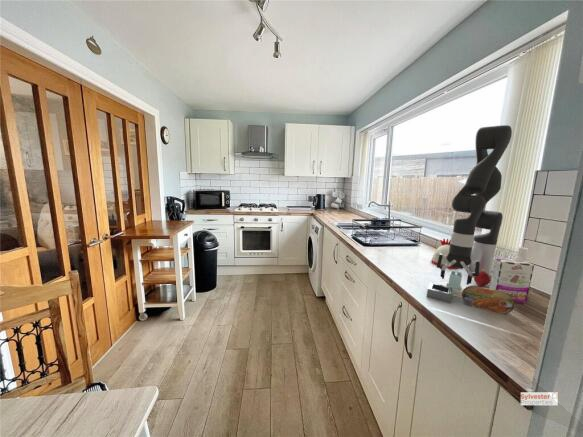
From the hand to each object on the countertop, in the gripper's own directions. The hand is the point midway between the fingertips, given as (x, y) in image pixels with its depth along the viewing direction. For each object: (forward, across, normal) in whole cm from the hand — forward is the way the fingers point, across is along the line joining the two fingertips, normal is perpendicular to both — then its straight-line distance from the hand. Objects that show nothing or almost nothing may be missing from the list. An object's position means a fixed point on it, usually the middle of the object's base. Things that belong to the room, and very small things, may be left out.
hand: (454, 281), depth 99 cm
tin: (+6, -10, +7) cm, 14 cm away
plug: (+5, 0, 0) cm, 5 cm away
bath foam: (+6, -22, -21) cm, 31 cm away
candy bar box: (+6, -18, -9) cm, 21 cm away
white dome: (+6, +5, -41) cm, 42 cm away
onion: (+6, -10, -17) cm, 21 cm away
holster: (+6, 0, 0) cm, 6 cm away
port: (+6, +4, +8) cm, 11 cm away
